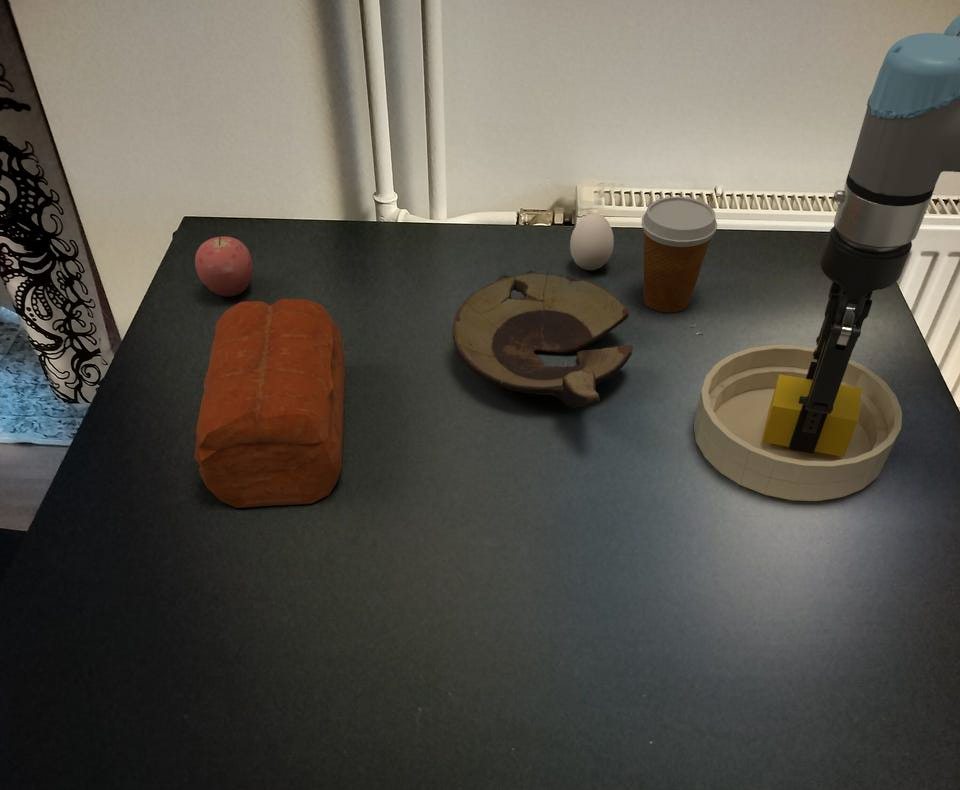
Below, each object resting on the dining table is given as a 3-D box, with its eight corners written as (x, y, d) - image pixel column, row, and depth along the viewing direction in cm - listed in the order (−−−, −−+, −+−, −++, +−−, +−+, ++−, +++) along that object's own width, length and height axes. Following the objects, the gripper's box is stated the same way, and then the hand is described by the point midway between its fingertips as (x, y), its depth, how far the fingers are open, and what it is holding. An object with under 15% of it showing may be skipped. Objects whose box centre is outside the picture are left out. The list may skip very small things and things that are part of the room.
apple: (265, 279, 125) (253, 224, 119) (249, 308, 121) (235, 252, 115) (214, 276, 126) (200, 220, 120) (197, 304, 122) (181, 248, 115)
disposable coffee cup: (624, 312, 119) (635, 225, 110) (639, 276, 125) (651, 190, 116) (694, 325, 117) (712, 236, 108) (707, 287, 123) (725, 200, 114)
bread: (202, 511, 96) (174, 433, 88) (226, 366, 113) (205, 288, 105) (345, 503, 97) (332, 425, 89) (349, 359, 113) (337, 282, 105)
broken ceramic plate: (629, 310, 120) (636, 256, 114) (628, 456, 101) (637, 400, 95) (465, 302, 121) (464, 248, 115) (435, 444, 103) (431, 388, 97)
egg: (598, 283, 124) (604, 230, 118) (560, 271, 126) (564, 218, 120) (618, 264, 127) (624, 211, 121) (580, 252, 129) (585, 200, 123)
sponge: (848, 424, 102) (861, 388, 98) (844, 457, 99) (858, 420, 95) (768, 410, 104) (779, 374, 100) (762, 442, 101) (772, 405, 97)
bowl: (888, 402, 107) (905, 363, 103) (879, 523, 94) (898, 484, 90) (709, 370, 111) (718, 331, 107) (677, 481, 99) (686, 442, 94)
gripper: (839, 182, 89) (780, 377, 108) (822, 278, 78) (760, 477, 96) (917, 192, 88) (844, 388, 106) (911, 292, 77) (831, 492, 95)
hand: (804, 430), depth 101 cm, fingers closed on sponge, 6 cm apart
